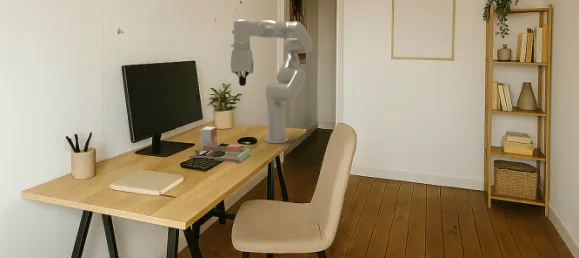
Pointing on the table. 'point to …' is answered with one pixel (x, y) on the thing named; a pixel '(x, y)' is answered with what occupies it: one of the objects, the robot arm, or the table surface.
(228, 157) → the tray
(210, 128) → the small box
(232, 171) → the table surface
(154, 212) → the table surface
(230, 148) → the block
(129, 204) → the table surface
